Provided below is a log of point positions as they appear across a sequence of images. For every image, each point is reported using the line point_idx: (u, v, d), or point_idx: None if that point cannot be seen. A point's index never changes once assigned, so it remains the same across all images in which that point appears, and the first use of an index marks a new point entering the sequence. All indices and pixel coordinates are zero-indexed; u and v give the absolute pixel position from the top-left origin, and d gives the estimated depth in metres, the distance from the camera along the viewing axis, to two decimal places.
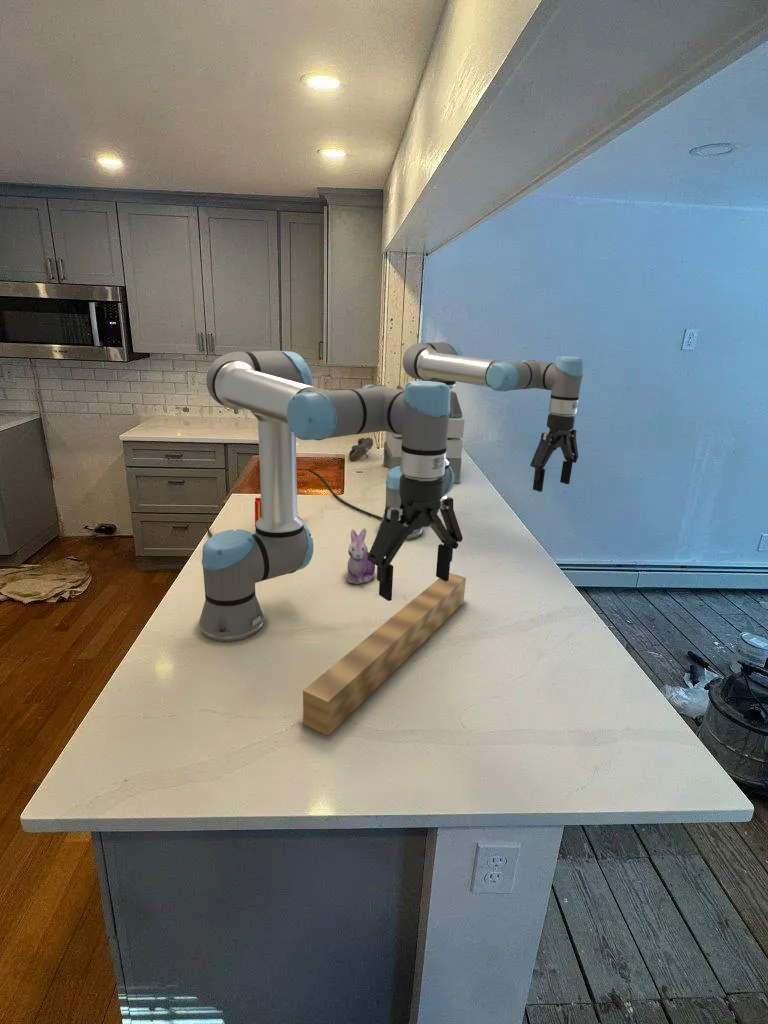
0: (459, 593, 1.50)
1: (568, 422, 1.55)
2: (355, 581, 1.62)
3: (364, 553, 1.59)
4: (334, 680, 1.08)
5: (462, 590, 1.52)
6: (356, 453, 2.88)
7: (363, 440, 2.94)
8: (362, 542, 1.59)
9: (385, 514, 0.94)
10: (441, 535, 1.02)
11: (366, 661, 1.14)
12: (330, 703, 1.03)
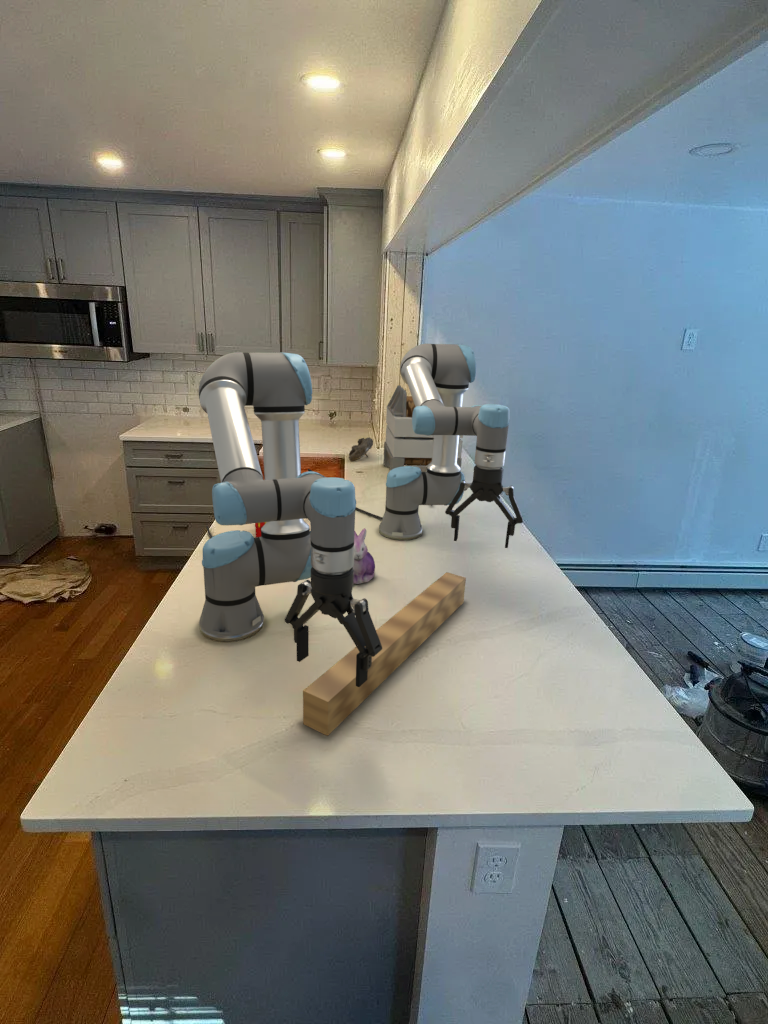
0: (459, 593, 1.50)
1: (480, 474, 1.43)
2: (355, 581, 1.62)
3: (364, 553, 1.59)
4: (334, 680, 1.08)
5: (462, 590, 1.52)
6: (356, 453, 2.88)
7: (363, 440, 2.94)
8: (362, 542, 1.59)
9: None
10: None
11: None
12: (330, 703, 1.03)
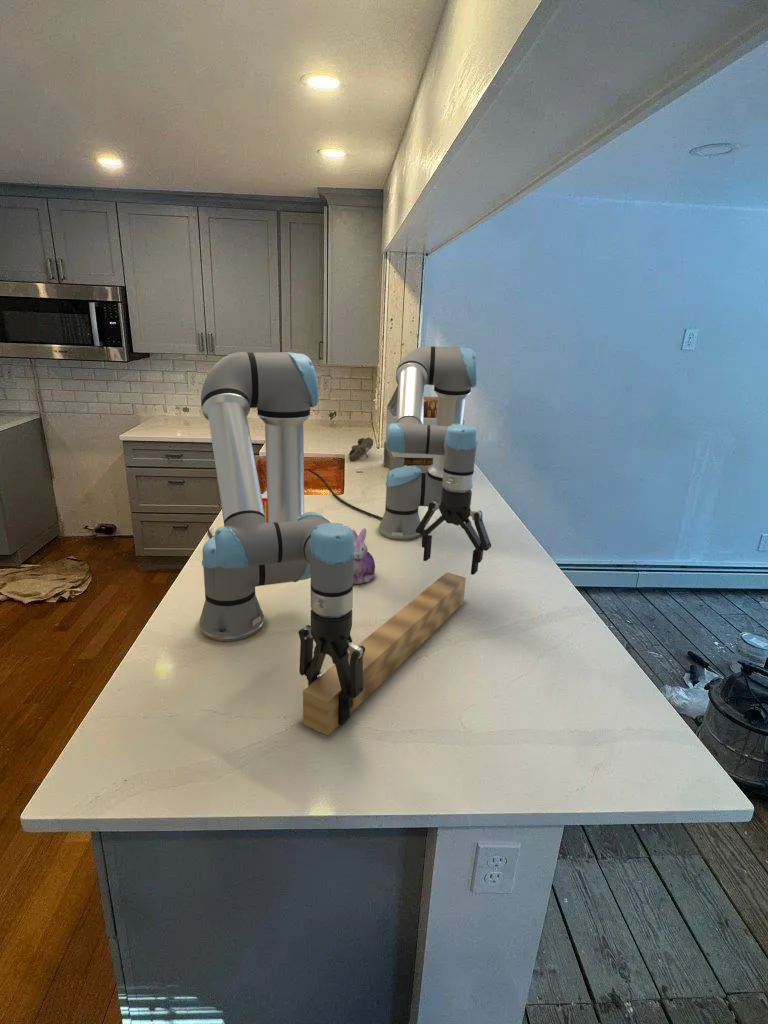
0: (459, 593, 1.50)
1: (444, 495, 1.40)
2: (355, 581, 1.62)
3: (364, 553, 1.59)
4: (334, 680, 1.08)
5: (462, 590, 1.52)
6: (356, 453, 2.88)
7: (363, 440, 2.94)
8: (362, 542, 1.59)
9: None
10: None
11: (366, 661, 1.14)
12: (330, 703, 1.03)
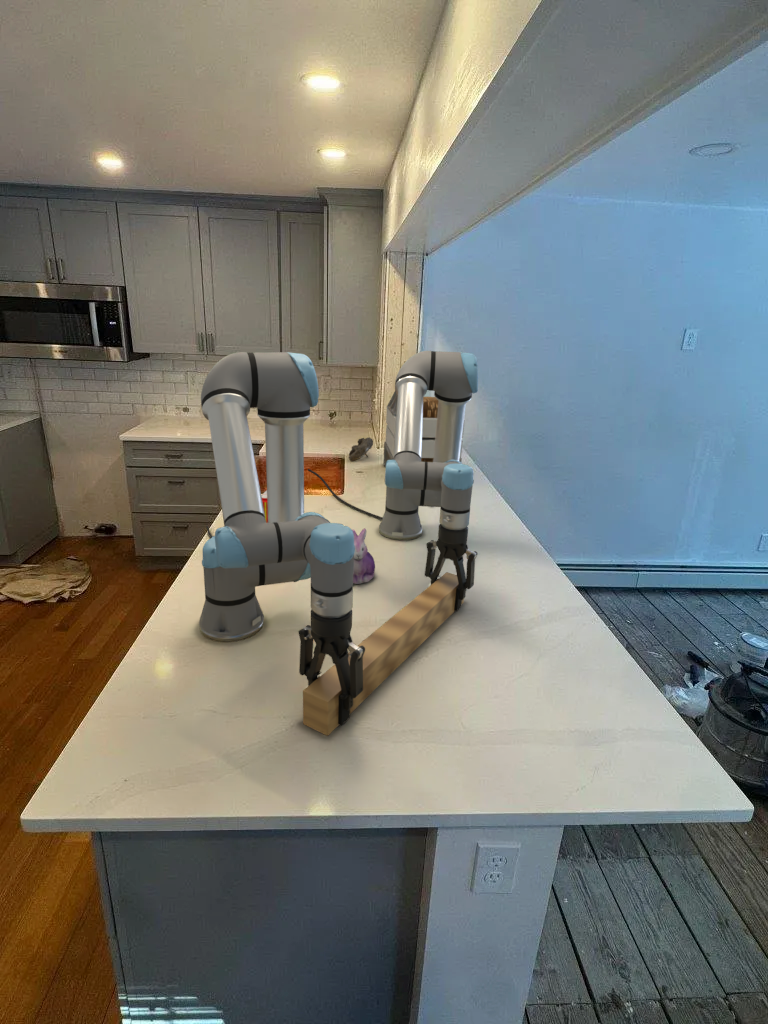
0: None
1: (441, 532, 1.43)
2: (355, 581, 1.62)
3: (364, 553, 1.59)
4: (334, 680, 1.08)
5: None
6: (356, 453, 2.88)
7: (363, 440, 2.94)
8: (362, 542, 1.59)
9: None
10: None
11: (366, 661, 1.14)
12: (330, 703, 1.03)
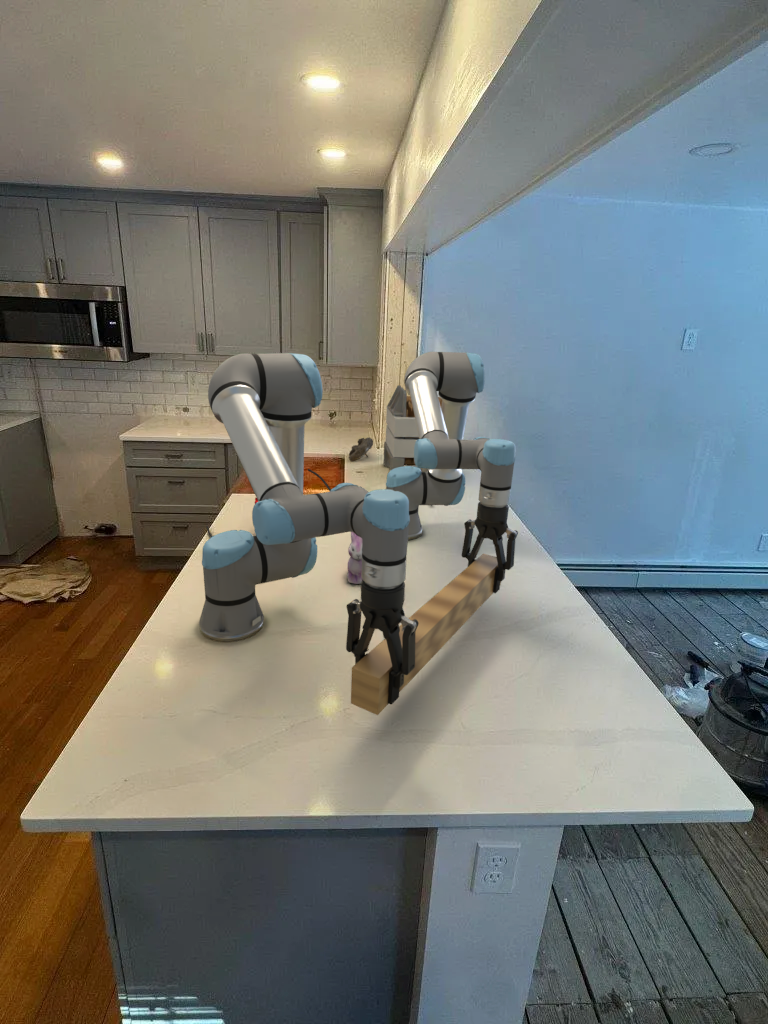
0: None
1: (480, 510, 1.38)
2: (355, 581, 1.62)
3: None
4: (383, 657, 1.03)
5: None
6: (356, 453, 2.88)
7: (363, 440, 2.94)
8: None
9: None
10: None
11: None
12: (381, 680, 0.98)
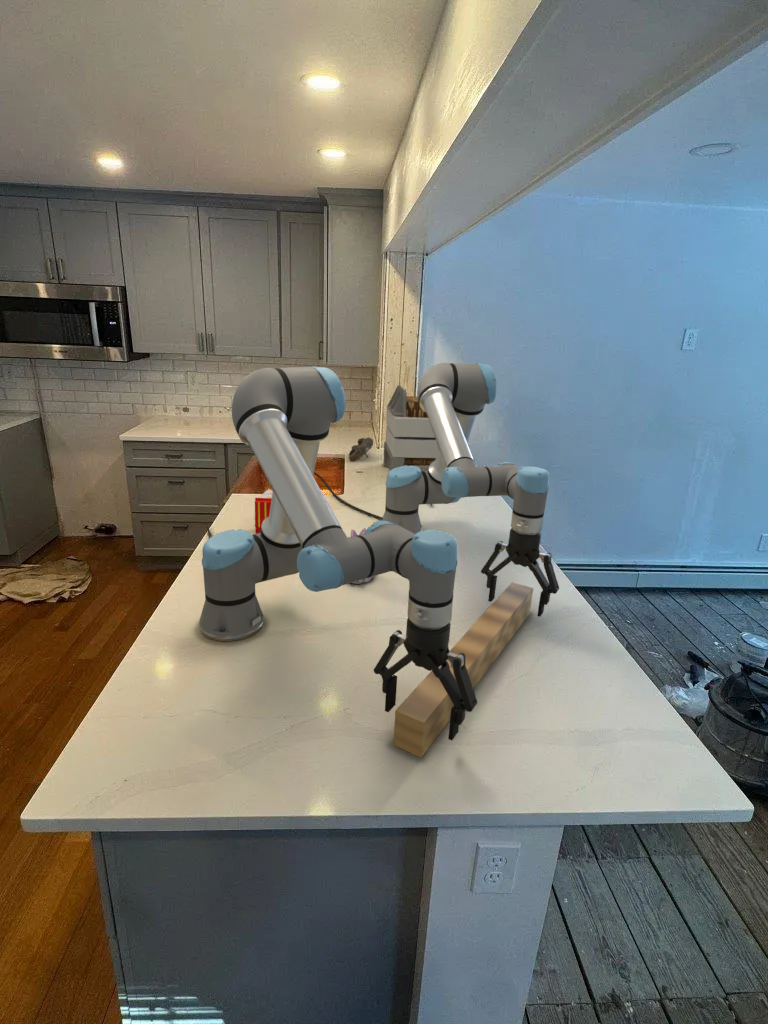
0: (527, 604, 1.46)
1: (513, 537, 1.38)
2: (355, 581, 1.62)
3: None
4: (425, 699, 1.04)
5: (529, 601, 1.47)
6: (356, 453, 2.88)
7: (363, 440, 2.94)
8: None
9: None
10: None
11: None
12: (425, 724, 0.99)
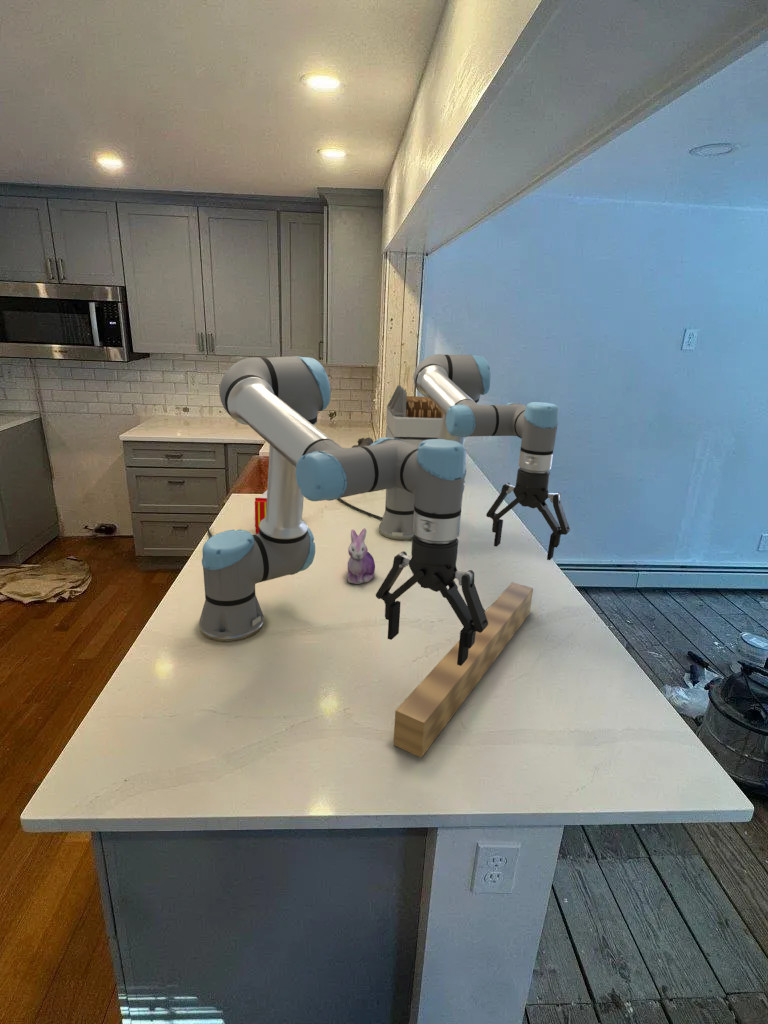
0: (527, 604, 1.46)
1: (521, 476, 1.33)
2: (355, 581, 1.62)
3: (364, 553, 1.59)
4: (425, 699, 1.04)
5: (529, 601, 1.47)
6: None
7: (363, 440, 2.94)
8: (362, 542, 1.59)
9: None
10: None
11: (453, 678, 1.10)
12: (425, 724, 0.99)
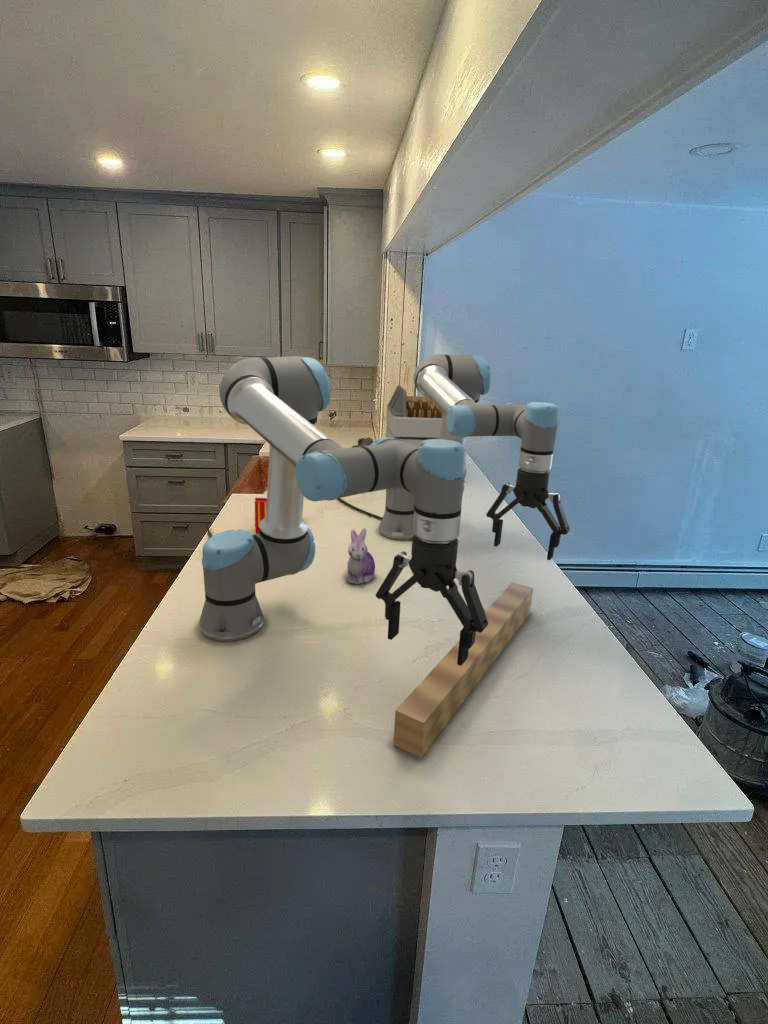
0: (527, 604, 1.46)
1: (521, 476, 1.33)
2: (355, 581, 1.62)
3: (364, 553, 1.59)
4: (425, 699, 1.04)
5: (529, 601, 1.47)
6: None
7: (363, 440, 2.94)
8: (362, 542, 1.59)
9: None
10: None
11: (453, 678, 1.10)
12: (425, 724, 0.99)
